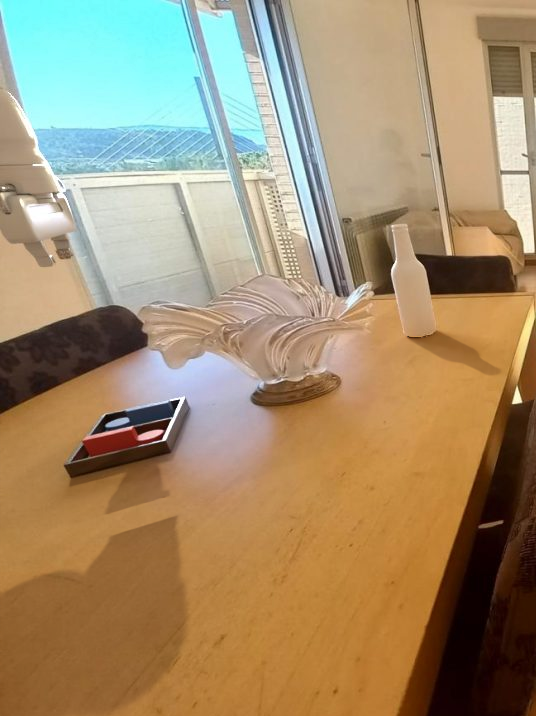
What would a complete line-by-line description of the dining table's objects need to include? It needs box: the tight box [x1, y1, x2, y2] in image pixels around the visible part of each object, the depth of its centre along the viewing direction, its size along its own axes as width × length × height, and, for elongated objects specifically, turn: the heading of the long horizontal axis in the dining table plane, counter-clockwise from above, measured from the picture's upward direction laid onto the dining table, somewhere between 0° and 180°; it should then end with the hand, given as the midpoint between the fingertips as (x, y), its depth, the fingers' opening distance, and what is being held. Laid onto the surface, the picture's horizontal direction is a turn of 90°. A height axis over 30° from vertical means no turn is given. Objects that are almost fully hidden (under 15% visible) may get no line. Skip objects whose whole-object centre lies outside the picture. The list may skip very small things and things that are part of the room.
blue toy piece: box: [105, 399, 175, 431], centre depth 88 cm, size 9×4×3 cm, turn 123°
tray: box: [62, 396, 190, 479], centre depth 85 cm, size 12×20×2 cm, turn 33°
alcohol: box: [390, 223, 437, 337], centre depth 129 cm, size 9×9×30 cm
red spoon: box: [81, 426, 165, 457], centre depth 81 cm, size 9×4×3 cm, turn 123°
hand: (58, 262), depth 88 cm, fingers open, 8 cm apart
